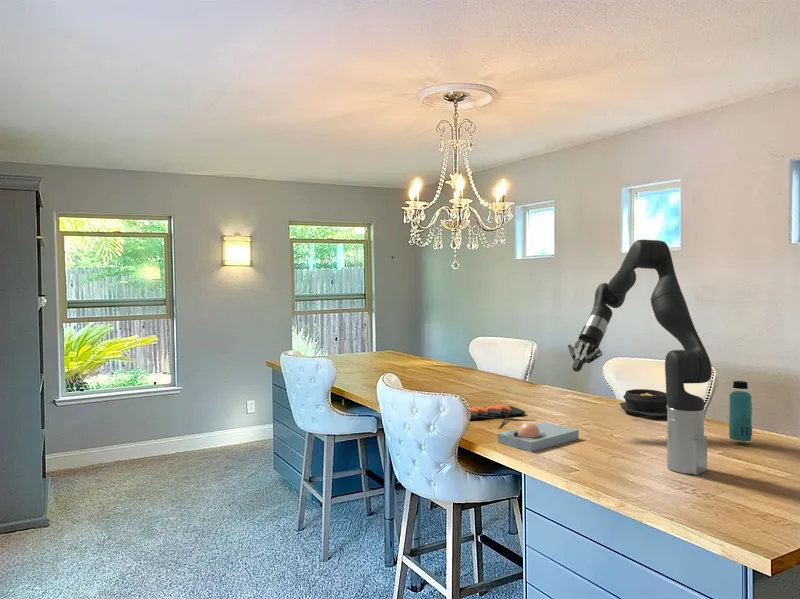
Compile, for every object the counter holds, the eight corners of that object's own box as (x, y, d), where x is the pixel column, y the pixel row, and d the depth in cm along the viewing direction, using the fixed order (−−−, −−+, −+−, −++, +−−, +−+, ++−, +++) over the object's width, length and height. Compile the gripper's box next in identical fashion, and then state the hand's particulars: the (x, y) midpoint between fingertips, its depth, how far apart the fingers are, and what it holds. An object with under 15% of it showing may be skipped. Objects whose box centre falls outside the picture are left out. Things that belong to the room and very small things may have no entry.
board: (578, 438, 197) (578, 429, 197) (530, 452, 182) (530, 442, 182) (545, 430, 208) (545, 422, 208) (497, 442, 194) (497, 433, 193)
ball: (540, 423, 188) (525, 438, 186) (546, 438, 191) (532, 452, 189) (525, 414, 194) (510, 428, 191) (531, 429, 197) (517, 443, 195)
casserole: (687, 419, 223) (687, 397, 222) (641, 421, 220) (641, 399, 220) (650, 406, 247) (650, 386, 247) (608, 407, 245) (608, 387, 244)
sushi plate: (510, 409, 246) (510, 400, 245) (550, 426, 217) (550, 415, 217) (445, 415, 236) (445, 406, 236) (478, 433, 208) (478, 422, 208)
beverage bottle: (740, 446, 185) (740, 383, 185) (723, 441, 192) (724, 380, 191) (757, 445, 187) (757, 382, 187) (740, 439, 194) (740, 379, 193)
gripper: (573, 322, 214) (554, 361, 207) (608, 326, 205) (589, 367, 198) (580, 334, 218) (561, 373, 211) (614, 339, 209) (596, 380, 202)
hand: (575, 370), depth 204 cm, fingers closed
